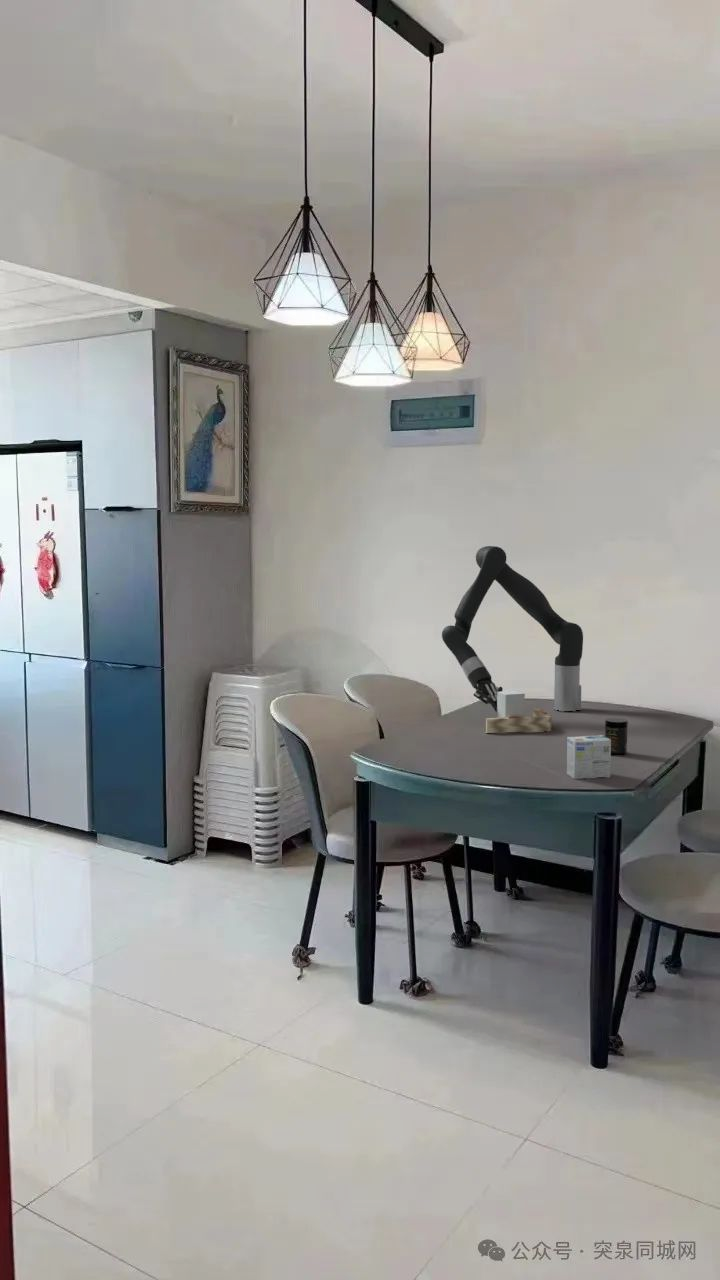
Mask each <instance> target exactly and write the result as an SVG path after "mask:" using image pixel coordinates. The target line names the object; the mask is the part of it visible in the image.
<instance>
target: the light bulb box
mask: <svg viewBox="0 0 720 1280" xmlns="http://www.w3.org/2000/svg"><path fill="white" fill-rule="evenodd" d="M566 737H567V738H566V739H567V741H566V744H567V745H566V746H567V747H566V774H567V775H568V776H569V777H571V778H572V779H574V780H579V779H583V778H586V779H598V778H597V777H606V778H611V766H612V765H611V763H612V762H611V761H612V760H611V758H612V757H611V756H612V755H611V740H610V739H608V738H606V737H605V735H602V734H601V735H581V736H566Z"/></svg>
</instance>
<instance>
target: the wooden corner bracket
mask: <svg viewBox="0 0 720 1280" xmlns="http://www.w3.org/2000/svg"><path fill="white" fill-rule="evenodd" d="M544 731H547V733H548V732H549V731H550V732H551V731H552V716H551V715H550V714H548V712H547V711H545V710H544V709H540V708H538V707H533V708H532V716H525V717H523V716H508V718H497V717H494V718H493V717H492V718H490V717H488V718H487V717H486V718H485V734H486V733H497V734H505V733H504V732H524V733H542V732H544Z"/></svg>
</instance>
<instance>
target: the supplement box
mask: <svg viewBox="0 0 720 1280" xmlns="http://www.w3.org/2000/svg"><path fill="white" fill-rule="evenodd" d="M525 697H526V694H525V693H524V692H521V691H518V690H502V691H501V692H497V712H496V718H508V716H523V717H526V716H525V713H526V712H525V707H526V706H525V701H526V699H525Z"/></svg>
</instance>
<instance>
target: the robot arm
mask: <svg viewBox="0 0 720 1280" xmlns="http://www.w3.org/2000/svg"><path fill="white" fill-rule="evenodd" d="M475 562H476V565H477V566H478V567H479V568H480V570H479V573H478V574H477V576H476V578H475V580H473V583H472V584H471V585H470V586H469V588H468V590H466V591H465V593H464V595H463V596H462V598H461V600H460V602H459V604H458V606H457V608H456V610H455V613H454V615H453V617H454V619H455V623H454V625H447V626H445V627H444V628H443V630H442V632H441V638H442V641H443V643H444V644H445V646H446V647H447V648H448V650H449V651H450V652H451V653H452V654H453V656H454V657H455V659H456V661H457V663H459V665H460V667H461V669H462V672H463V673H464V675H465V676H466V678H467V680H468V682H469V683H470V685H471V686H472V688H473V689H475V692H474V693H473V697H475V698H477V699H478V700H479V701H481V702H483V703H484V704H486V705H490V706H491V707H492V709H494V712H496V713H497V692H501V691H503V687H502V686H496V684H495V683H494V682H493V681H492V675H491V673H490V672H489V670H488V669H487V667H486V665H485V664H484V662H483V661H482V659H480V657H479V656H478V654H477V653H476V651H475V650H474V648H473V647H472V646H471V645H470V644H469V643H468V642H467V641H468V639H469V636H470V632H471V629H472V623H473V621H474V618H475V616H476V614H477V613H478V611H479V609H480V606H481V604H482V602H483V601H484V598H485V596H486V594H487V593H488V592H489V589H490V588H491V586H492V585H493V583H494V581H496V582H497V583H498V585H500V586H501V587H502V588H503V589H504V591H506V593H507V594H508V595H509V596H510V597H511V598H512V599H513V600H514V601H515V602H516V603H517V604H518V605H519V607H521V609H522V610H524V611H525V612H526V613H527V614H528V615H529V616H531V617H532V618H533V620H535V621H536V622H537V623H538V624H539V625H540V626H541V627H542V628H543V630H545V631H546V632H547V634H548V635H549V636H550V638H551V639H552V640H553V642H555V644H557V645H559V650H558V651H559V653H558V654H557V656H555V659H554V688H553V689H554V692H553V693H554V695H553V696H554V698H553V701H554V702H553V709H555V710H554V711H557V710H559V711H558V712H564V711H573V712H577V711H576V710H582V685H581V684H580V680H581V679H580V678H581V677H580V674H581V673H580V672H581V660H582V657H583V647H584V632H583V629H582V627H581V626H580V625H579V624H578V623H575V622H569V621H567V620H565V619H564V618H563V617H561V615H559V614H558V613H557V612H556V611H555V610H554V609H553V608H552V606H551V604H550V602H549V600H548V599H547V597H546V595H545V594H544V593H543V592H542V591H541V590H540V589H539V588H538V587H537V585H535V584H534V582H532V581H530V580H529V579H528V578H527V577H525V576H524V575H523V574H522V575H521V574H520V573H518V572H517V571H516V570H514V569H513V568H512V567H510V565H509V564H508V563H507V553H506V552H505V550H504V549H503V548H502V547H500V546H494V545H488V546H487V545H486V546H483V547H481V548H478V550H477V552H476V554H475Z"/></svg>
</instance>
